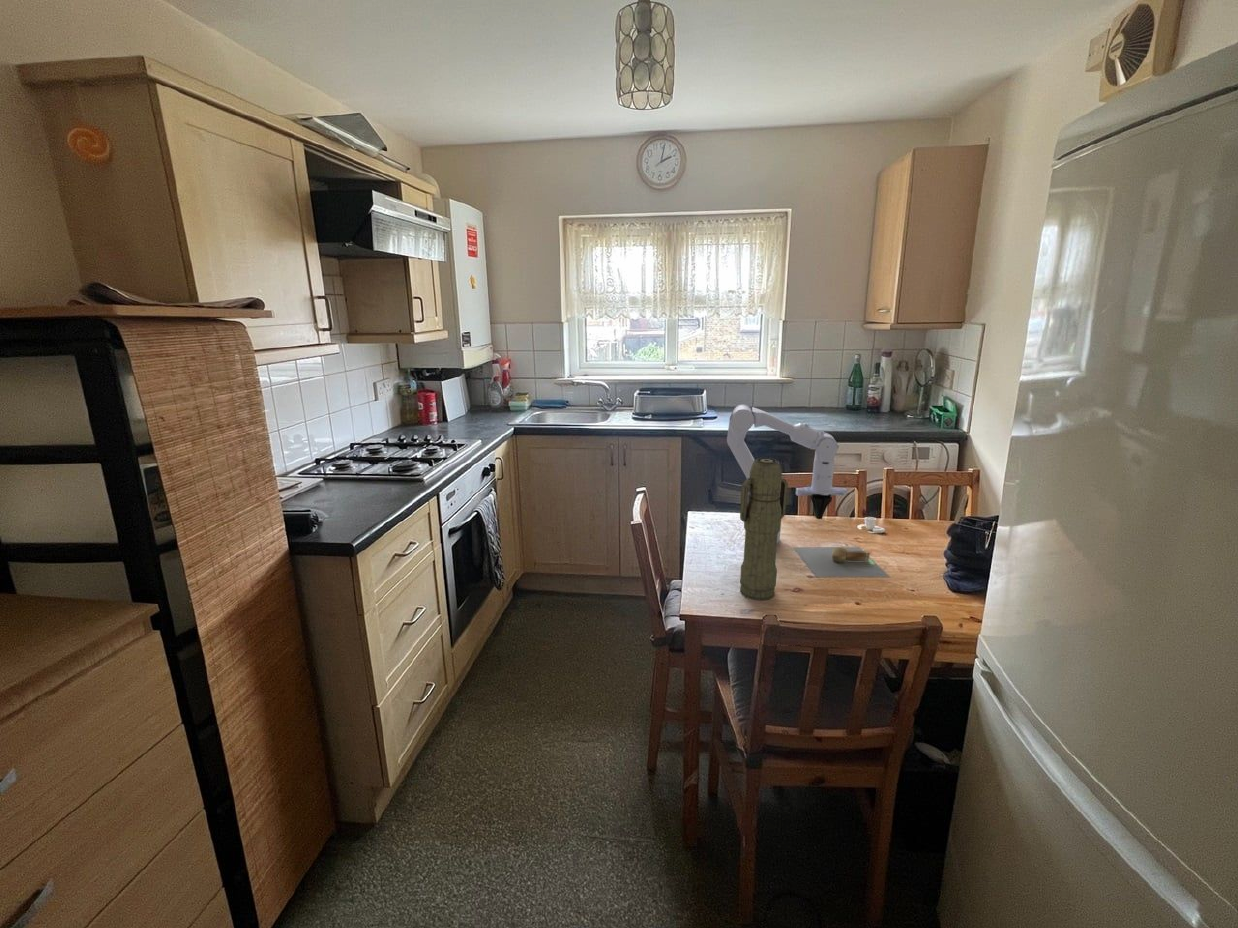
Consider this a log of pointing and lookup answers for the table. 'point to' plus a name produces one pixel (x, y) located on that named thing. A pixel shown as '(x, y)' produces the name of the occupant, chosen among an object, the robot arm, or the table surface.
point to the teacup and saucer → (871, 525)
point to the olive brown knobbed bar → (849, 555)
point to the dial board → (837, 563)
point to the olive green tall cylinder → (761, 527)
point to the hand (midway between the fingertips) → (818, 517)
